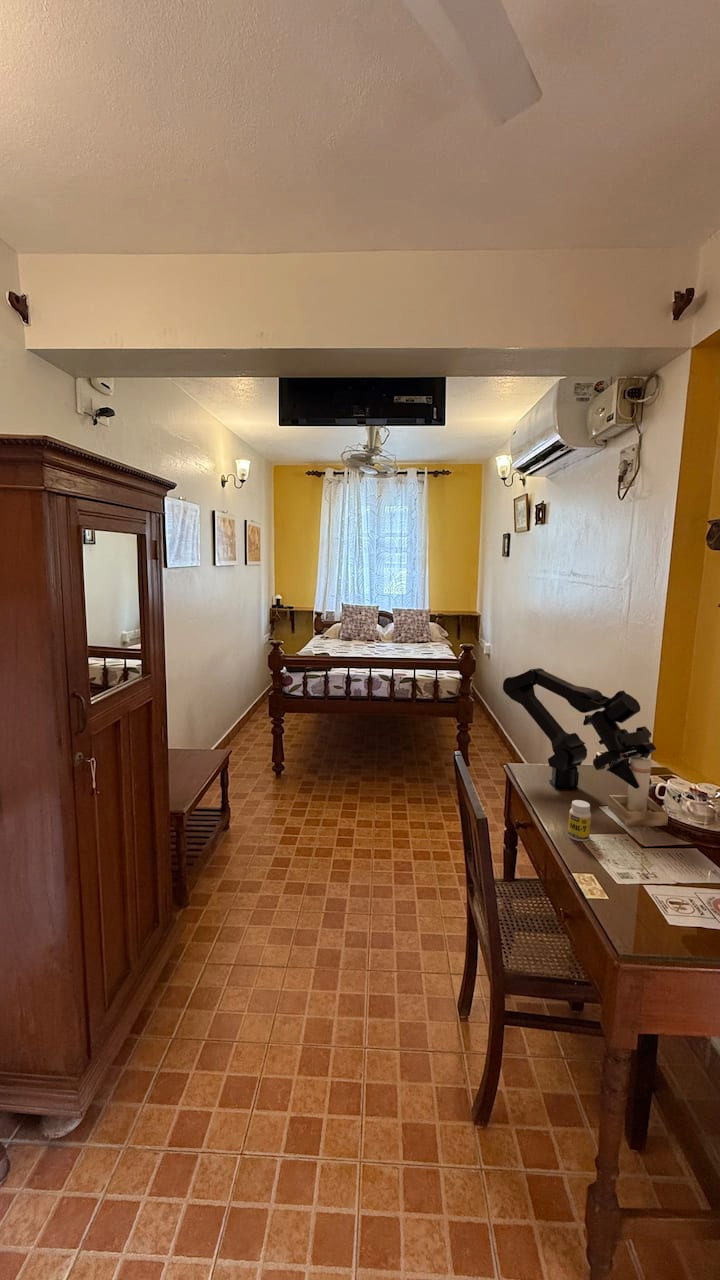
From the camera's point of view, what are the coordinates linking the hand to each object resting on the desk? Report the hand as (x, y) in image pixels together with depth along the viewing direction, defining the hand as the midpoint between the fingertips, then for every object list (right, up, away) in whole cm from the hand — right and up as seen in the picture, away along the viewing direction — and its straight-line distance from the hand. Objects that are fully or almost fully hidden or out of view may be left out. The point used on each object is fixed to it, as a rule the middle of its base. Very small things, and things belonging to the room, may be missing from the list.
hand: (643, 786), depth 138 cm
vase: (-1, -6, +2) cm, 7 cm away
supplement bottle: (-20, -10, -8) cm, 24 cm away
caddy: (-1, -9, +2) cm, 9 cm away
